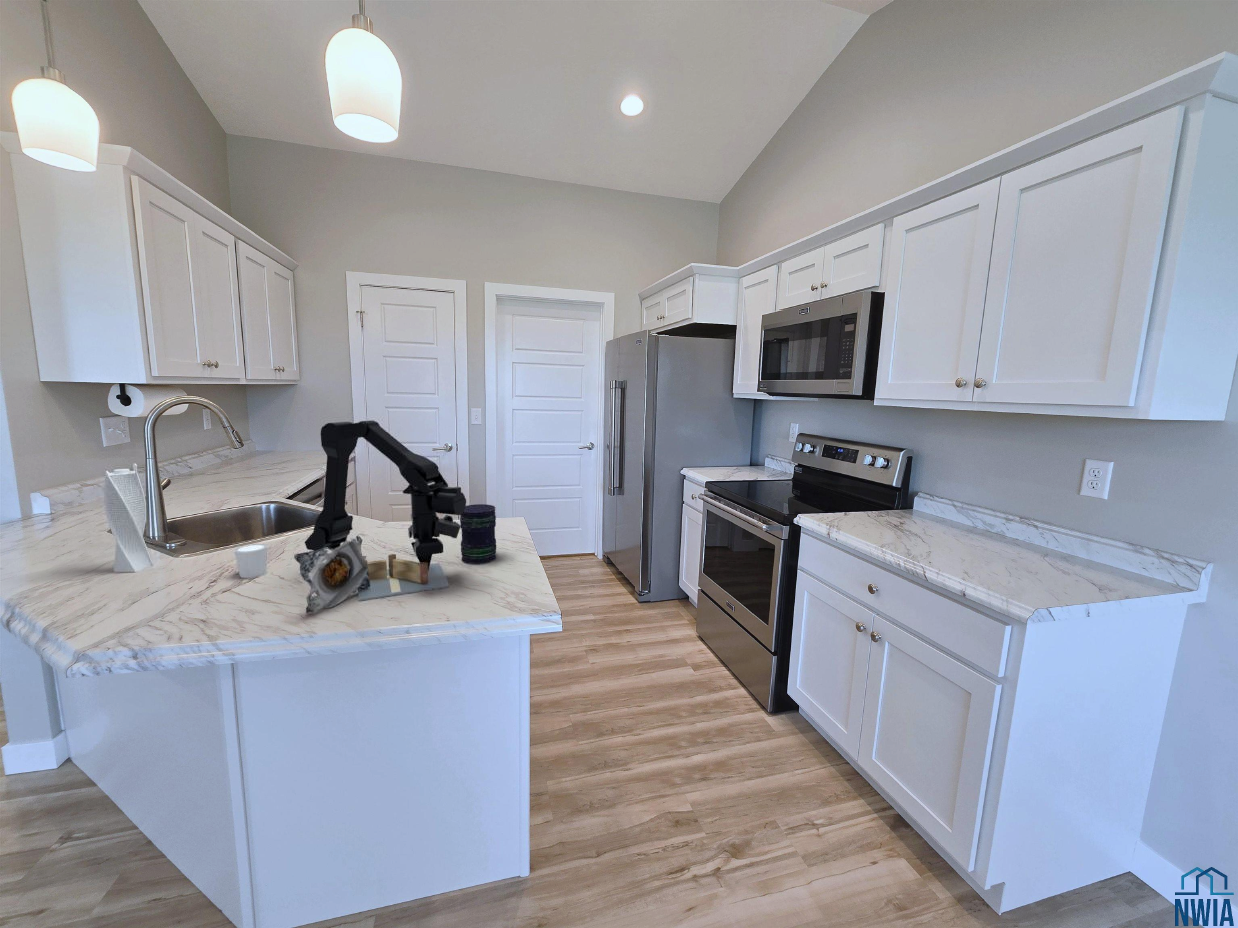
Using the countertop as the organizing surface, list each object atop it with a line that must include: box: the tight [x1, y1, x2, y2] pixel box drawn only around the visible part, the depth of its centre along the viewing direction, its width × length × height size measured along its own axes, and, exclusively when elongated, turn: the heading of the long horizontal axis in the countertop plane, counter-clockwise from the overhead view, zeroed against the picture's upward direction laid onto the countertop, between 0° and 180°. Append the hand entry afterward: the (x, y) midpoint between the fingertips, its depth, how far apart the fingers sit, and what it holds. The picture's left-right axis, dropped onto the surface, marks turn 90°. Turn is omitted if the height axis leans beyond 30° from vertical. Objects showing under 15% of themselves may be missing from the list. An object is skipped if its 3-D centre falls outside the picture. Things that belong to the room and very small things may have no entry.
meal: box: [293, 535, 370, 614], centre depth 114 cm, size 15×4×13 cm, turn 161°
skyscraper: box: [103, 463, 154, 573], centre depth 130 cm, size 8×8×28 cm
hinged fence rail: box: [387, 553, 428, 584], centre depth 126 cm, size 12×2×5 cm, turn 67°
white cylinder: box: [234, 543, 268, 579], centre depth 129 cm, size 7×7×7 cm
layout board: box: [357, 562, 451, 602], centre depth 127 cm, size 20×18×1 cm
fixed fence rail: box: [365, 559, 388, 581], centre depth 126 cm, size 6×2×5 cm, turn 118°
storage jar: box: [459, 503, 497, 565], centre depth 144 cm, size 10×10×15 cm
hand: (426, 570), depth 128 cm, fingers closed
